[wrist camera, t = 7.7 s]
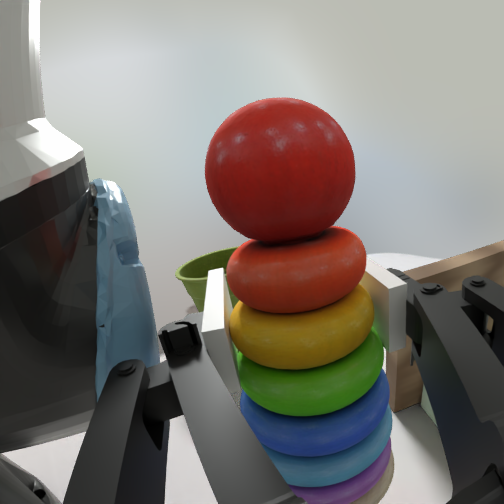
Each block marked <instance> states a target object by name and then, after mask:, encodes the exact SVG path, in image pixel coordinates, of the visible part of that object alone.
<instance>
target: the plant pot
mask: <svg viewBox="0 0 504 504" xmlns="http://www.w3.org/2000/svg"><path fill="white" fill-rule="evenodd" d="M238 247H240V246H238ZM238 247H232V248H227V249H223V250H218V251H214V252H211V253H208V254H205V255H202V256H200V257H197V258H195V259H193V260H190V261H188V262H186V263H185V264H184V265H182V266H181V267H179V268H178V269H177V271H176V273H175V276H176V277H177V278H178V279H179V280H181V281H182V282H183V284H184V286H185V288H186V290H187V292H188V294H189V295H190V296H191V297H192V299H193V301H194V303H195V305H196V307H197V309H198V311H199V312H204V305H205V296H206V288H207V280H208V272H209V271H210V270H214V269H219V268H223V269H224V274H225V278H226V282H227V275H226V268H227V264H228V261H229V259H230V257H231V255H232V254H233V252H234V251H235V250H236V249H237V248H238ZM227 287H228V291H229V295H230V299H231V304H232V308H233V309H234V307H235V305H236V304H237V303H238V302H239V299H238V298H237V297H236V296H235V295H234V294H233V292H232V291H231V289H230V287H229V284H228V282H227ZM237 350H238V349H237ZM238 353H239V350H238Z"/></svg>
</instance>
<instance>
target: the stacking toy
mask: <svg viewBox="0 0 504 504" xmlns="http://www.w3.org/2000/svg"><path fill="white" fill-rule="evenodd" d="M205 179H206V185H207V189H208V192H209V195H210V198H211V200H212V203H213V204H214V206H215V207H216V209H217V211H218V212H219V214H220V215H221V216H222V218H223V219H224V220H225V221H226V222H227V223H228V224H229V225H230V226H231V227H232V228H233V229H234V230H236V231H237V232H240V233H241V234H242V235H244V236H245V237H247V238H250V239H251V240H249V241H247V242H245V243H243V244H242V245H241V246H240V247H238V248H237V249H236V250H235V251H234V252H233V254H232V255H231V257H230V259H229V261H228V264H227V268H226V275H227V282H228V284H229V287H230V289H231V291H232V292H233V294H234V295H235V296H236V297H237V298H238V299H239V302H238V303H237V304H236V305H235V307H234V309H233V311H232V313H231V316H230V320H229V330H230V335H231V338H232V341H233V343H234V344H235V346H236V348H237V349H238V350H239V353H238V356H237V361H238V369H239V375H240V381H241V387H242V388H243V390H242V393H241V399H240V408H241V413H242V415H243V416H244V418H245V419H246V421H247V423H248V424H249V426H250V428H251V429H252V431H253V432H254V434H255V436H256V437H257V439H258V440H259V442H260V443H261V445H262V447H263V448H264V450H265V451H266V453H267V454H268V456H269V457H270V459H271V460H272V462H273V463H274V465H275V466H276V468H277V469H278V471H279V472H280V474H281V475H282V477H283V478H284V480H285V481H286V483H287V484H288V486H289V487H290V488H291V490H292V491H293V493H294V494H295V495H296V496H297V497H302V498H303V499H304V500H305V501H306V502H307V503H308V504H378V503H379V502H380V500H381V499H382V498H383V497H384V495H385V493H386V492H387V490H388V488H389V486H390V484H391V481H392V478H393V472H394V457H393V453H392V450H391V438H390V434H391V430H392V413H391V408H390V405H389V394H390V389H389V383H388V379H387V376H386V374H385V372H384V370H383V369H382V366H383V360H384V349H383V344H382V341H381V339H380V336H379V335H378V333H377V331H376V330H375V329H374V328H373V322H374V314H375V311H374V304H373V301H372V298H371V296H370V294H369V293H368V292H367V290H366V289H365V288H364V287H363V286H362V285H360V284H359V282H360V281H361V279H362V277H363V275H364V272H365V269H366V251H365V248H364V245H363V243H362V241H361V240H360V238H359V237H358V236H357V235H355V234H354V233H353V232H351V231H350V230H348V229H345V228H341V227H336V226H332V225H334V223H335V222H336V220H337V219H338V218H339V217H340V216H341V214H342V213H343V211H344V209H345V208H346V206H347V204H348V202H349V200H350V198H351V195H352V192H353V188H354V183H355V161H354V154H353V150H352V148H351V145H350V143H349V140H348V139H347V137H346V135H345V133H344V132H343V130H342V128H341V127H340V125H339V124H338V123H337V122H336V121H335V120H334V119H333V118H332V117H331V116H330V115H329V114H328V113H326V112H325V111H323V110H322V109H320V108H318V107H317V106H315V105H313V104H310V103H308V102H305V101H303V100H298V99H293V98H269V99H263V100H258V101H256V102H253V103H250V104H248V105H246V106H244V107H242V108H240V109H238V110H236V111H235V112H234V113H232V114H231V115H230V116H229V117H228V118H227V119H226V120H225V121H224V122H223V123H222V124H221V125H220V127H219V128H218V129H217V131H216V132H215V134H214V136H213V138H212V140H211V142H210V145H209V148H208V151H207V156H206V163H205Z"/></svg>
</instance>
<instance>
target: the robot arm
mask: <svg viewBox="0 0 504 504" xmlns="http://www.w3.org/2000/svg"><path fill="white" fill-rule="evenodd" d="M39 7H40V0H0V504H61V502H60V501H59V500H58V499H57V498H56V497H55V495H54V494H53V493H52V492H51V491H50V490H49V489H48V488H47V487H46V486H45V485H44V484H43V483H42V482H41V481H40V480H39V479H38V478H36V477H35V476H34V475H32V474H30V473H29V472H27V471H26V470H24V469H23V468H21V467H20V466H18V465H17V464H15V463H14V462H13V461H11V460H10V459H8V458H7V457H5V456H4V455H3V454H1V453H4V452H9V451H13V450H18V449H22V448H26V447H31V446H35V445H39V444H43V443H46V442H50V441H54V440H58V439H61V438H65V437H68V436H72V435H75V434H79V433H82V432H85V431H86V434H85V437H84V440H83V443H82V445H81V448H80V451H79V454H78V457H77V460H76V463H75V466H74V469H73V472H72V475H71V478H70V481H69V485H68V488H67V491H66V494H65V498H64V501H63V504H164V501H165V482H166V466H167V452H168V440H169V428H170V421H169V419H172V418H175V417H178V416H181V415H184V416H185V419H186V422H187V425H188V428H189V431H190V434H191V436H192V439H193V442H194V445H195V447H196V450H197V453H198V455H199V458H200V461H201V463H202V466H203V468H204V471H205V473H206V476H207V478H208V481H209V483H210V486H211V488H212V490H213V493H214V495H215V497H216V500H217V502H218V504H308V503H307V502H306V501H305V500H304V499H303V498H302V497H297V496H296V495H295V494H294V493H293V491H292V490H291V488H290V487H289V486H288V484H287V483H286V481H285V480H284V478H283V477H282V475H281V474H280V472H279V471H278V469H277V468H276V466H275V465H274V463H273V462H272V460H271V459H270V457H269V456H268V454H267V453H266V451H265V450H264V448H263V447H262V445H261V443H260V442H259V440H258V439H257V437H256V436H255V434H254V432H253V431H252V429H251V428H250V426H249V424H248V423H247V421H246V419H245V418H244V416H243V415H242V413H241V411H240V410H239V408H238V406H237V405H236V403H235V401H234V399H233V398H232V396H231V393H236V392H242V391H241V381H240V375H239V369H238V361H237V356H238V350H237V348H236V346H235V344H234V343H233V341H232V338H231V335H230V330H229V320H230V316H231V313H232V311H233V308H232V304H231V299H230V295H229V291H228V287H227V282H226V278H225V274H224V269H223V268H219V269H214V270H210V271H209V272H208V280H207V288H206V296H205V305H204V312H199V313H193V314H188V315H187V316H186V317H185V318H184V319H183V320H179V321H174V322H172V323H169V324H167V325H166V326H164V327H162V328H161V329H160V331H159V333H158V336H159V339H160V342H161V344H162V347H163V350H164V353H165V355H166V359H167V360H165V361H163V362H162V363H160V355H159V345H158V338H157V331H156V325H155V319H154V313H153V308H152V303H151V297H150V292H149V287H148V282H147V278H146V273H145V270H144V267H143V265H142V263H141V262H140V260H139V258H138V255H139V251H138V244H137V237H136V230H135V226H134V222H133V218H132V215H131V211H130V208H129V205H128V203H127V200H126V197H125V195H124V193H123V191H122V189H121V188H120V187H119V186H118V185H117V184H116V183H114V182H113V181H104V180H102V179H100V178H99V179H95V180H93V182H90V183H89V179H88V174H87V168H86V163H85V157H84V152H83V148H82V147H80V146H79V145H77V144H76V143H75V142H73V141H72V140H70V139H69V138H67V137H66V136H64V135H63V134H61V133H60V132H58V131H57V130H55V129H54V128H53V127H52V126H51V125H50V123H49V122H48V121H47V120H46V118H45V111H44V103H43V94H42V82H41V69H40V49H39V9H40V8H39ZM359 284H360V285H362V286H363V287H364V288H365V289H366V290H367V292H368V293H369V294H370V296H371V298H372V301H373V304H374V311H375V314H374V322H373V328H374V329H375V330H376V331H377V333H378V335H379V336H380V339H381V341H382V344H383V346H384V348H385V349H386V350H387V351H388V352H389V353H391V352H394V351H397V350H399V349H402V348H405V347H406V334H407V335H408V336H409V337H410V338H411V339H412V346H411V360H410V366H413V362H414V360H415V361H416V364H417V366H418V369H419V372H420V375H421V377H422V380H423V383H424V386H425V389H426V392H427V395H428V398H429V401H430V404H431V407H432V410H433V413H434V417H435V420H436V423H437V426H438V430H439V433H440V437H441V440H442V444H443V447H444V451H445V455H446V459H447V462H448V466H449V470H450V474H451V479H452V483H453V493H452V499H451V500H450V501H448V502H447V503H446V504H504V287H502V286H501V285H499V284H497V283H495V282H494V281H492V280H490V279H488V278H485V277H481V276H479V275H476V276H471V277H467V278H465V279H464V280H463V281H462V290H460V291H453V292H448V291H447V289H446V288H445V287H444V286H442V285H440V284H437V283H424V284H420V283H419V282H417V281H415V280H414V279H412V278H410V277H409V276H408V275H405V274H404V273H403V272H401V271H400V270H396V269H392V268H389V269H385V268H383V267H382V266H380V265H379V264H377V263H376V262H374V261H373V260H371V259H370V258H368V257H367V256H366V269H365V272H364V275H363V277H362V279H361V281H360V282H359ZM489 316H490V317H491V318H492V319H493V326H492V330H491V331H490V330H488V329H487V324H488V318H489Z"/></svg>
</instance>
